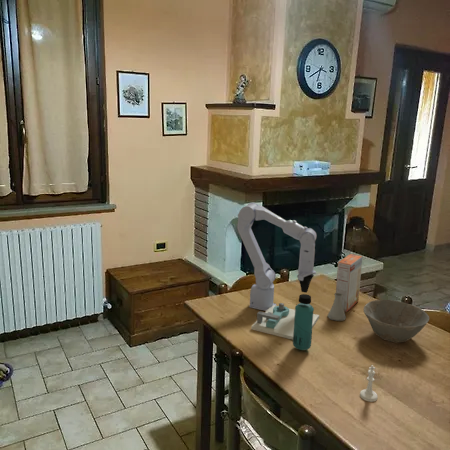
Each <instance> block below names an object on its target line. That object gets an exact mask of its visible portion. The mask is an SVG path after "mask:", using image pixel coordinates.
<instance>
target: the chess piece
mask: <svg viewBox="0 0 450 450" xmlns="http://www.w3.org/2000/svg"><path fill="white" fill-rule="evenodd" d="M375 370H376V367H375V366H374V365H373V364H372V365H370V366H369V367H368V370H367V374H368V376H367V377H366V381H367V382H368V383H367V386H366V389H365V388H364V389H362V390H360V392H359V397H360V398H361V399H362V400H364V401H367V402H371V403H372V402H376V401H377V400H378V394H377V392H376V391H374V390H373V382H375V378H374V376H375V375H376V372H375Z"/></svg>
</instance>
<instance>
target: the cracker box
mask: <svg viewBox="0 0 450 450" xmlns="http://www.w3.org/2000/svg"><path fill="white" fill-rule="evenodd" d="M362 265H363V255H359V254H358V255H357V254H354V253H353V254H352V253H349V254H348V255H346V256H344V258H342V259H341V260H339V261H338V262H337V270H336V271H337V272H336V285H335V286H336V287H335V293H341V294H343V296H342V306H343V310H344V312H345V313H346V312H349V311H350V310H351V309H352V308H353V307H354V306H355V304H357V303H358V302H359V296H360V286H361V277H362V276H361V275H362V267H363V266H362Z"/></svg>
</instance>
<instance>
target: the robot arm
mask: <svg viewBox="0 0 450 450" xmlns="http://www.w3.org/2000/svg"><path fill="white" fill-rule="evenodd" d="M237 217H238V218H237V232H238V235H239V236H240V238H241V240H242V243H243V245H244V247H245V250H246V252H247V254H248V256H249V258H250V261H251V264H252V266H253V270H254V273H253V274H254V276H255V283H254V284H252V286H251V287H250V292H249V306H248V308H251V309H255V310H260V311H265V312H266V311H267V310H268V309H269V308H270V307H272V306H273V305H276V306H277V303H274V301H275V300H274V297H275V296H274V295H275V284H274V281H275V280H276V278H277V276H276V272H275V271H274V270H273V269H272V268H271V266H270V264H269V263H268V262H266V260H265V257H264V255H263V252H262V250H261V248H260V246H259V243H258V241H257V239H256V237H255V235H254V232H253V229H252V226H253V224H254V221H257V222H258V221H262V220H264V221H267V222H268V223H271V224H272V225H275V226H277V227H279V228H280V229H282V231H283V233H284V234H286V235H288V236H290V237H291V238H293V239H295V240H297V241H299V243H300V247H299V261H298V269H297V276H296V277H297V280H298V282H299V285H300V286H299V287H300V290H301V292H302V293H304V294H306V293H307V292H308V291H309V288H310V284H311V281H312V279H313V278H314V277H315V276H314V275H316V274H317V271H316V270H314V267H315V266H314V265H315V264H314V263H315V254H316V249H315V247H316V240H317V232H316V231H315V230H314V229H313V228H311V227H309V228H308V227H307V226H303V225H302V224H300V223H298V222H297V220H295V219H293V220H291V219H289V220H286V219H284V218H283V217H281V216H280V215H277V214H276V213H274V212H272V211H271V210H269V209H268V208H267V207H264V206H263V205H260V204H258V203H256V202H249V203H247V205H245V206H243V207H242V208H241V209H240V210H239V212H238V214H237Z"/></svg>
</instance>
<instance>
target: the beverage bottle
mask: <svg viewBox="0 0 450 450" xmlns="http://www.w3.org/2000/svg"><path fill="white" fill-rule="evenodd" d="M298 297H299V298H298V302H299V303H297V304H296V305H295V307H294V310H295V317H294V319H295V320H294V329H293V330H294V335H293V340H292V345H293V347H294V348H295V349H297V350H301V351H306V350H309V349H310V348H311V346H312V340H313V338H312V337H313V328H312V323H313V314H314V310H315V309H314V307H313V306H312V305H311V303H312V296H311V295H310V294H306V293H303V294H300V295H299V296H298Z"/></svg>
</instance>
